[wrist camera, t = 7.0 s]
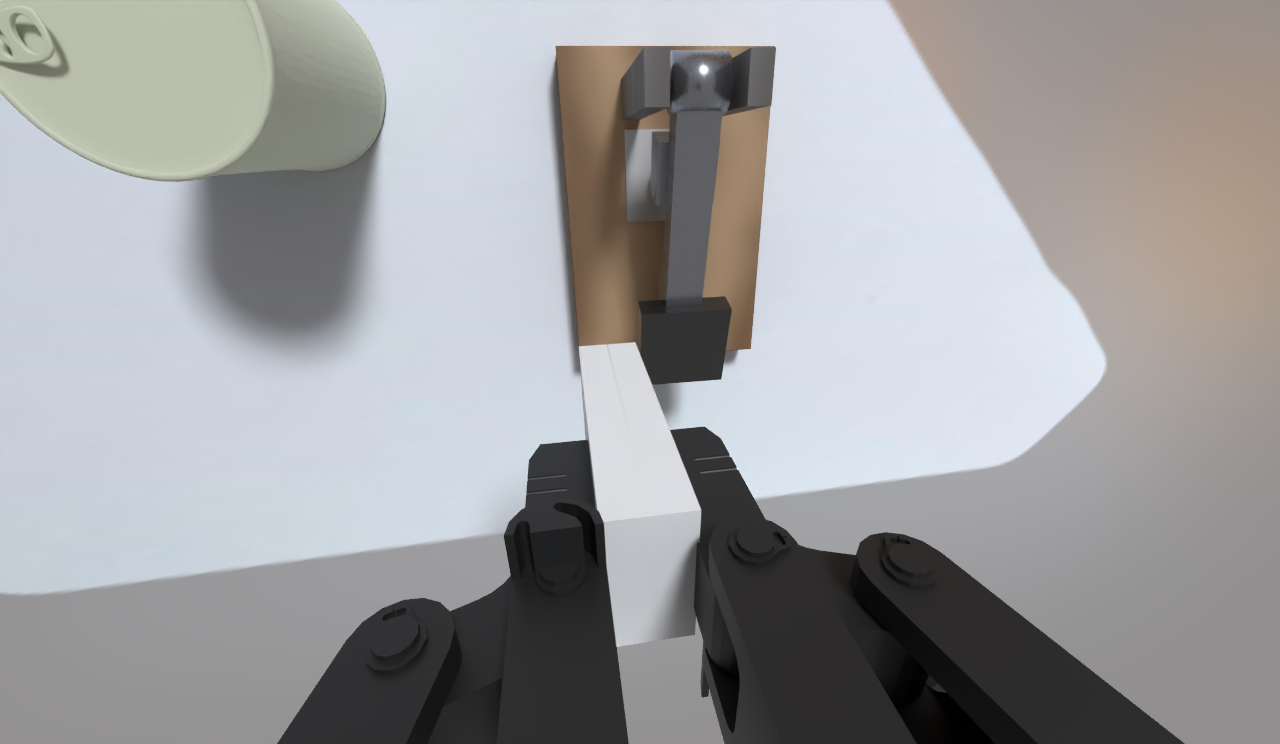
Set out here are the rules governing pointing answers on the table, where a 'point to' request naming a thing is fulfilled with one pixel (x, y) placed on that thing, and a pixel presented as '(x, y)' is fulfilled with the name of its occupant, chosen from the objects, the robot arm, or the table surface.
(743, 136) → the base
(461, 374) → the table surface
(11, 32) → the can
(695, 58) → the lever
